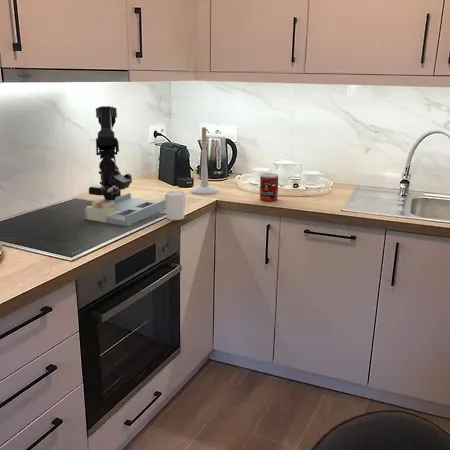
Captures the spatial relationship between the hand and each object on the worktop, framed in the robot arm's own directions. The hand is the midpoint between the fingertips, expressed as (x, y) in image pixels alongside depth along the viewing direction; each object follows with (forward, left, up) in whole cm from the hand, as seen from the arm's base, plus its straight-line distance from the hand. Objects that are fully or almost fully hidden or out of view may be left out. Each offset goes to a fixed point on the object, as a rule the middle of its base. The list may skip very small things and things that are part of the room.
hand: (111, 207), depth 199 cm
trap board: (+4, +5, -3) cm, 7 cm away
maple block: (0, -5, -1) cm, 5 cm away
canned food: (+46, +50, -3) cm, 68 cm away
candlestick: (+14, +50, -3) cm, 52 cm away
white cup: (+24, +8, -3) cm, 26 cm away
